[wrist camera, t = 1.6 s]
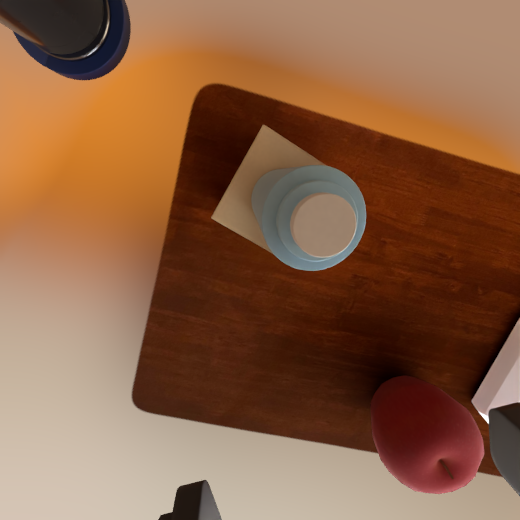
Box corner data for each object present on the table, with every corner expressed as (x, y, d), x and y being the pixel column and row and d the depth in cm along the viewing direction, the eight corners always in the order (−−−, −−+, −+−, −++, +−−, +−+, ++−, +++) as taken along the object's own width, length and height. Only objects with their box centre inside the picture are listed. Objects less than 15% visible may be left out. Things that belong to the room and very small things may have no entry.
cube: (217, 207, 38) (210, 218, 28) (256, 137, 36) (263, 124, 27) (282, 244, 40) (296, 267, 30) (322, 179, 38) (351, 181, 28)
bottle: (240, 210, 28) (242, 247, 14) (270, 157, 27) (307, 138, 13) (290, 239, 29) (340, 303, 15) (321, 189, 28) (407, 204, 14)
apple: (450, 382, 47) (531, 461, 34) (399, 439, 49) (457, 535, 36) (387, 342, 44) (449, 411, 31) (336, 405, 46) (375, 494, 33)
